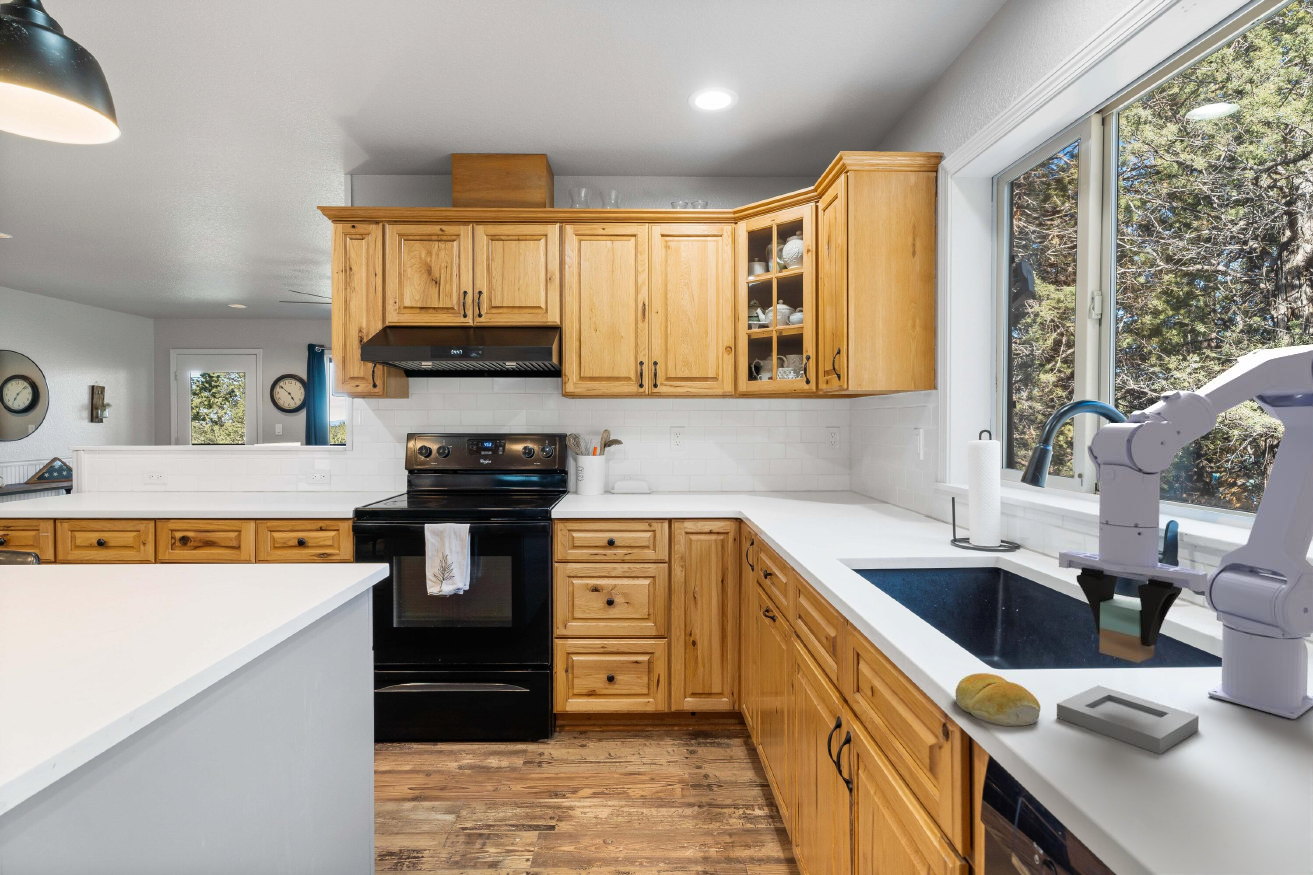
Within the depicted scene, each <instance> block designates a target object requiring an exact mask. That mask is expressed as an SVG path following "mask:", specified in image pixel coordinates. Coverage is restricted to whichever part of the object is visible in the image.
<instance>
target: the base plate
mask: <svg viewBox="0 0 1313 875" xmlns="http://www.w3.org/2000/svg"><path fill="white" fill-rule="evenodd" d="M1199 717H1200V716H1199V715H1197V714H1195V713H1191V712H1187V711H1184V710H1181V709H1178V708H1174V707H1171V706H1167V705H1164V704H1161V703H1158V702H1154V701H1151V700H1148V699H1144V698H1141V697H1138V696H1136V695H1132V694H1128V693H1125V692H1122V691H1118V690H1116V689H1112V688H1109V687H1106V686H1103V685H1102V686H1101V685H1096V686H1093V687H1091V688H1089V689H1087V690H1085V691H1082V692H1080V693H1078V694H1075V695H1073V696H1071V697H1069V698H1067V699H1064V700H1062V701H1061V700H1060V702H1057V703H1056V718H1058V719H1060V720H1064V721H1066V722H1070V723H1071V724H1075V725H1078V726H1080V727H1083V728H1085V729H1088V730H1091V731H1094V732H1096V733H1099V734H1101V735H1102V734H1103V735H1105V736H1107V737H1111V738H1113V739H1117V740H1119V741H1122V742H1125V743H1127V744H1129V745H1133V746H1136V747H1139V748H1141V749H1144V750H1146V751H1150V752H1153V753H1155V754H1159V755H1160V754H1163V753H1164V752H1166V751H1168V749H1170V748H1172V747H1174V746H1175V745H1177V744H1178V743H1180V742H1181V741H1183V740H1185V739H1187V738H1188V737H1190V736H1192V735H1193V734H1195V733H1196V732H1198V731H1199V724H1200V723H1199Z"/></svg>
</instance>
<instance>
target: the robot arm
mask: <svg viewBox="0 0 1313 875" xmlns="http://www.w3.org/2000/svg"><path fill="white" fill-rule="evenodd" d="M1251 399H1253V400H1254V401H1255V402H1256V403H1257V405H1259V407H1260V408H1261V409H1263V411H1264V412H1265V413H1266V414H1267V415H1268V416H1269V417H1270V418H1272V419H1275V420H1278V421H1279V422H1281V424H1282V425H1283V427H1284V430H1283V434H1282V436H1281V439H1280V443H1279V445H1278V449H1277V451H1276V455H1275V457H1274V460H1273V464H1272V467H1271V470H1270V472H1269V476H1268V480H1267V482H1266V485H1265V488H1264V491H1263V494H1262V497H1261V500H1260V502H1259V503H1260V504H1259V505H1258V508H1257V512H1256V515H1255V518H1254V521H1253V524H1252V527H1251V530H1250V533H1249V536H1248V539H1247V542H1246V543H1245V544H1244V545H1242V546H1239V547H1238V548H1235V549H1233V550H1231V551H1228V552H1226V553H1224V554H1223V555H1221V558H1220V561H1219V563H1218V566H1217V567H1216V569H1215V570H1214V571H1213V572H1212V573H1211V574H1210V575H1209V576H1208V572H1207V571H1199V570H1195V569H1191V568H1190V569H1189V568H1185V567H1179V566H1176V565H1170V564H1166V563H1162V562H1161V563H1160V562H1159V548H1160V547H1159V545H1160V544H1159V542H1160V539H1159V538H1160V502H1161V501H1160V498H1161V494H1160V493H1161V491H1160V489H1161V471H1163V470H1164V471H1165V470H1167V469H1168V468H1169V467H1170V466H1171V465H1172V463H1173V462H1174V459H1175V456H1176V454H1177V452H1179V451H1180V450H1181V449H1183V447H1186V446H1187V445H1189V444H1191V443H1193V442H1194V441H1195V440H1197V439H1199V438H1201V437H1203V436H1205V435H1206V434H1208V433H1209V432H1212V430H1213V429H1214V428H1215V426H1216V425H1217V421H1218V415H1221V414H1222V413H1224V412H1226V411H1228V410H1230V409H1233V408H1235V407H1237V406H1239V405H1241V404H1242V403H1244V402H1247V401H1249V400H1251ZM1086 446H1087V454H1088V458H1089V459H1090V461H1091V462H1092V464H1093V465H1094V467H1095V479H1097V482H1098V483H1099V517H1098V518H1099V521H1098V522H1099V523H1098V526H1099V527H1098V528H1099V529H1098V530H1099V531H1098V554H1097V553H1091V552H1089V553H1088V552H1080V551H1079V552H1078V551H1072V550H1063V551H1059V552H1058V567H1059V568H1063V569H1075V570H1081V572H1080V574H1078V575H1076V583H1077V584H1078V585H1079V587H1080V588H1081V590H1082V592H1083V594H1084V595H1085V598H1086V600H1087V602H1088V605H1089V607H1090V610H1091V613H1092V616H1093V620H1094V624H1095V627H1096V634H1097V635H1100V602H1103V601H1107V600H1111V599H1115V598H1114V596H1115V592H1116V591H1115V590H1116V586H1117V581H1118V578H1119V577H1120V578H1125V579H1133V580H1138V581H1144V582H1147V583H1143V584H1139V585H1138V586H1137V590H1138V596H1139V601H1140V602H1139V603H1141V611H1142V628H1141V642H1142V645H1144V646H1148V647H1150V646H1153V645H1154V646H1155V645H1157V644H1158V639H1159V635H1160V631H1161V628H1162V626H1163V623H1164V621H1165V619H1166V616H1167V614H1168V613H1169V611H1170V609H1171V607H1172V606H1173V604H1174V603H1175V601H1176V600H1177V599H1178V597H1179V596H1180V595H1181V593H1182V591H1183V588H1184V589H1188V590H1189V591H1193V592H1199V593H1201V592H1204V596H1205V597H1204V598H1205V601H1206V603H1207V605H1208V607H1209V609H1210V610H1212V612H1214V613H1216V621H1219V622H1221V623H1222V633H1221V634H1222V637H1221V638H1222V642H1221V645H1222V646H1221V650H1222V651H1221V684H1219V685H1218V686H1216V687H1213V688H1212V689H1210V690H1209V691H1208V693H1207V695H1208V696H1209V697H1213V698H1217V699H1220V700H1223V701H1226V702H1231V703H1233V704H1238V705H1241V706H1245V707H1247V708H1248V707H1249V708H1252V709H1255V710H1259V711H1263V712H1267V713H1271V714H1274V715H1277V716H1280V717H1284V718H1287V719H1293V720H1295V719H1297V718H1298V717H1300V716H1301V715H1303V714H1304V713H1306V711H1307V710H1309V709H1310V708H1312V707H1313V695H1310V694H1308V674H1309V673H1308V667H1309V666H1308V664H1309V663H1308V662H1309V661H1308V660H1309V655H1308V654H1309V652H1308V647H1307V644H1306V641H1305V640H1304V638H1311V634H1313V564H1311V563H1310V561H1308V559H1307V555H1308V552H1309V548H1310V545H1311V543H1312V539H1313V344H1307V345H1298V346H1297V345H1295V346H1287V347H1286V346H1285V347H1279V348H1270V349H1268V348H1259V349H1255V350H1253V351H1250V352H1249V353H1248V354H1246V355H1243V356H1240V357H1238V358H1237V359H1236V363H1235V365H1234V366H1232V367H1231V368H1229V369H1228V370H1226V371H1225V372H1223V373H1222V374H1220V375H1218V376H1217V377H1216V378H1214V379H1213V380H1211V381H1210V382H1208V383H1207V384H1205V385H1204V386H1202V387H1200V389H1197V391H1194V392H1193V391H1190V390H1170V391H1169V390H1168V391H1166V392H1164V393H1162V394H1161V395H1160V401H1158V402H1156V403H1154V404H1152V405H1151V406H1149V407H1147V408H1146V409H1144V410H1135V411H1134V412H1132V413H1130V414H1129V418H1128V419H1126V420H1125V421H1124V422H1122V423H1121V422H1118V423H1115V422H1113V423H1108V424H1105V425H1103V426H1102V427H1101V428H1099V429H1098V430H1097V432H1096V433H1094V435H1093V437H1092V439H1091V443H1090V445H1089V444H1088V445H1086Z"/></svg>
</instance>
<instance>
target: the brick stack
mask: <svg viewBox="0 0 1313 875" xmlns="http://www.w3.org/2000/svg"><path fill="white" fill-rule="evenodd" d="M1141 628H1142V611H1141V602H1138V601H1133V600H1127V599H1124V598H1117V597H1116V598H1114V599H1111V600H1107V601H1103V602H1100V634H1099V642H1098V643H1099V649H1098V651H1099V653H1100V654H1103V655H1108V656H1112V657H1114V658H1115V657H1116V658H1119V659H1123V660H1126V661H1130V662H1133V663H1137V664H1139V663H1141V662H1143V661H1146V660H1149V659H1151V658H1155V645H1153V646H1150V647H1148V646H1144V645H1142V642H1141Z"/></svg>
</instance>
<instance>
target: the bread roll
mask: <svg viewBox="0 0 1313 875" xmlns="http://www.w3.org/2000/svg"><path fill="white" fill-rule="evenodd" d="M955 702H956V704H957V706H958V707H959V708H960V709H961V710H963V711H965V712H966V713H969V714H972V716H974V717H975V718H977V719H979V720H981V721H984V722H986V723H989V724H993V725H998V726H1004V727H1022V726H1023V727H1024V726H1029V725H1033V724H1035V723H1036V722H1038V720H1039V718H1040V714H1041V705H1040V702H1039V700H1038V699H1037V698H1036V697H1035V695H1034V694H1032V693H1031V692H1030V691H1029V690H1028V689H1026V688H1025V687H1024V686H1023V685H1021V684H1018V683H1015V682H1011V681H1008V680H1007V679H1005V678H1004V677H1002V676H999V675H996V674H992V673H989V672H988V673H987V672H985V673H984V672H982V673H972V674H968V675H965V677H963V678H962V679H961V680H960V681H959V682H958V684H957V686H956V688H955Z"/></svg>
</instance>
